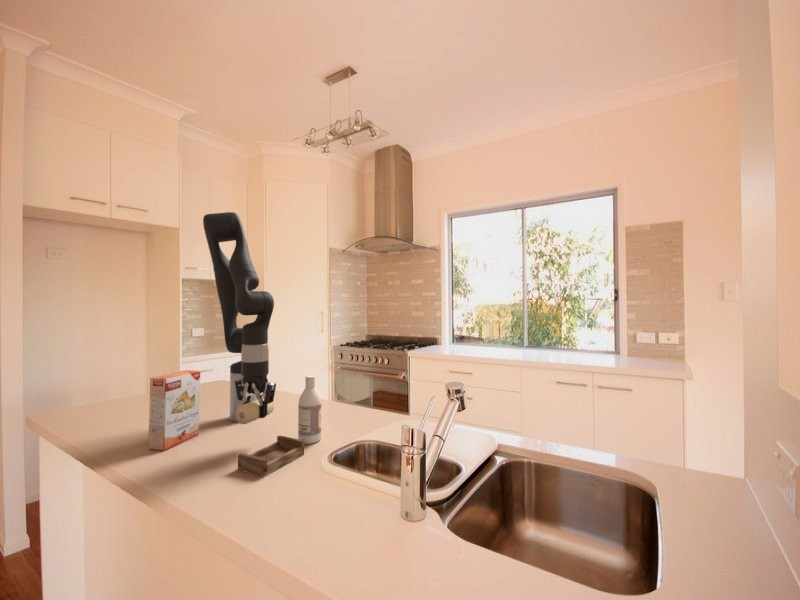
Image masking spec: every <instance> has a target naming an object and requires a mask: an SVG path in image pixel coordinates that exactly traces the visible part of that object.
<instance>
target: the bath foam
mask: <svg viewBox="0 0 800 600" xmlns="http://www.w3.org/2000/svg"><path fill="white" fill-rule="evenodd" d="M304 387H305V388H304V390H303V391H302V392H301V394H300V396H299V399H298V408H297V409H298V412H297V413H298V415H297V416H298V421H297V422H298V423H297V424H298V425H297V426H298V427H297V428H298V431H297V434H298V436H297V437H298V438H297V439H299V440H304V445H311V444H312V445H313V444H315V443H318V442H320V441H321V439H322V398H321V397H322V396H321V395H320V393H319V391H318V390H317V388H316V376H315V375H306V376H305V386H304Z"/></svg>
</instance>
